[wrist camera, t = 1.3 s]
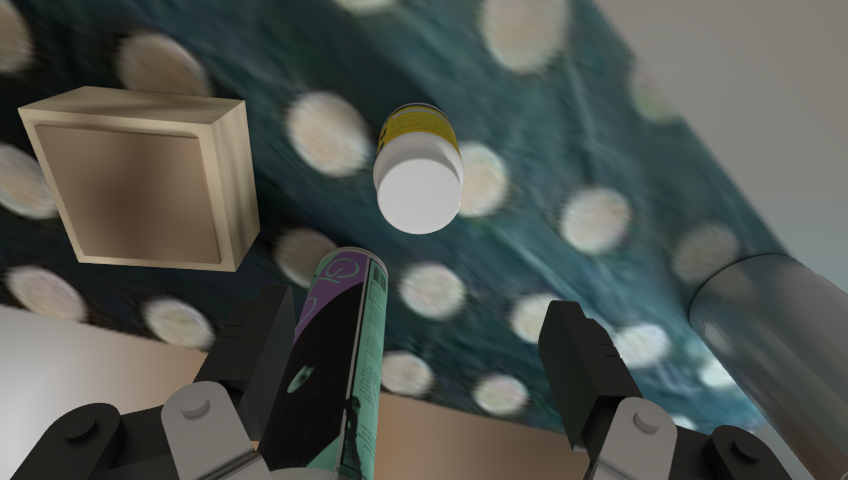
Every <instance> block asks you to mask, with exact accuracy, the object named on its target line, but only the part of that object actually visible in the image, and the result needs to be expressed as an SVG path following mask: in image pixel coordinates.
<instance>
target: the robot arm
mask: <svg viewBox="0 0 848 480" xmlns="http://www.w3.org/2000/svg"><path fill="white" fill-rule="evenodd" d="M689 319H690V324H691V326H692V328H693V330H694V331H695V332H696V334H697V335H698V336H699V337H700V339H701V340H702V341H703V342H704V343H705V345H706V346H707V347H708V348H709V350H710V351H711V352H712V353H713V355H714V356H715V357H716V358H717V360H718V361H719V362H720V363H721V365H722V366H723V367H724V369H725V370H726V371H727V372H728V373H729V375H730V376H731V377H732V378H733V380H734V381H735V382H736V383H737V385H738V386H739V387H740V388H741V389H742V391H743V392H744V393H745V394H746V396H747V397H748V398H749V399H750V401H751V402H752V403H753V404H754V405H755V407H756V408H757V409H758V410H759V412H760V413H761V414H762V415H763V417H764V418H765V419H766V420H767V421H768V423H769V424H770V425H771V426H772V428H773V429H774V430H775V431H776V433H777V434H778V435H779V436H780V437H781V439H782V440H783V441H784V442H785V444H786V445H787V446H788V447H789V449H790V450H791V451H792V452H793V453H794V455H795V456H796V457H797V458H798V460H799V461H800V462H801V463H802V465H803V466H804V467H805V468H806V469H807V471H808V472H809V473H810V474H811V476H812V477H813V478H814V479H815V480H848V294H847V293H845V292H844V291H842V290H841V289H840V288H838V287H837V286H835V285H834V284H833V283H831V282H830V281H829V280H827V279H826V278H824V277H823V276H822V275H820V274H816V273H814V272H813V271H811V270H810V269H809V268H807V267H806V266H805V265H803V264H802V263H800V262H799V261H797V260H796V259H794V258H791V257H788V256H785V255H773V254H772V255H762V256H756V257H752V258H748V259H745V260H743V261H740V262H738V263H735V264H733V265H731V266H729V267H727V268H726V269H724V270H722V271H720V272H719V273H718V274H716V275H715V276H714V277H713V278H711V279H710V280H709V281H708V282H707V283H706V284H705V285H704V286H703V287H702V288H701V289H700V291H699V292H698V293H697V295H696V296H695V298H694V300H693V302H692V305H691V307H690V313H689ZM295 328H296V324H295V313H294V302H293V292H292V287H291V286H290V285H272V284H265V285H264V286H263V288H262V290H261V292H260V294H259V296H258V298H257V300H256V301H250V300H245V301H244V302H242V303H241V304H240V305H239V306H238V307H236V308H235V309H234V310H233V311H232V312H231V313H230V315H229V317H228V319H227V321H226V322H225V324H224V328H222V330H221V332H220V333H219V335H218V339H216V341H215V343H214V344H213V346H212V348H211V350H210V352H209V354H208V356H207V358H206V359H205V361H204V363H203V365H202V367H201V368H200V371H199V372H198V374H197V376H196V378H195V379H194V381H193V383H192V384H189V385H187V386H185V387H182V388H181V389H179V390H178V391H176V392H175V393H174V394H172V396H171V397H170V398H169V399H168V400H167V401H166V403H165V404H163V405H161V406H158V407H155V408H151V409H146V410H142V411H137V412H133V413H128V414H124V415H120V413H119V411H118V410H117V408H115V407H114V406H113V405H110V404H106V403H93V404H88V405H84V406H81V407H78V408H76V409H73V410H72V411H70V412H68V413H66V414H64V415H63V416H61V417H60V418H59V419H57V420H56V421H55V422H54V423H53V424H52V425H51V426H50V427H49V428H48V429H47V431H45V433H44V434H43V435H42V437H41V438H40V440H39V441H38V442H37V444H36V445H35V446H34V448H33V449H32V450H31V452H30V453H29V454H28V456H27V457H26V459H25V460H24V461H23V463H22V464H21V465H20V467H19V468H18V469H17V471H16V472H15V473H14V475H13V476H12V478H11V479H10V480H273V478H272V476H271V474H270V471H269V469H268V467H267V465H266V463H265V461H264V459H263V457H262V455H261V454H260V452H259V451H255V449H254V448H253V446H252V444H251V441H262V438H263V435H264V432H265V429H266V426H267V423H268V420H269V416H270V413H271V410H272V407H273V404H274V401H275V398H276V395H277V392H278V389H279V386H280V383H281V380H282V377H283V373H284V370H285V367H286V364H287V361H288V358H289V355H290V352H291V349H292V346H293V342H294V338H295ZM538 348H539V355H540V358H541V361H542V364H543V367H544V370H545V372H546V375H547V378H548V381H549V384H550V387H551V390H552V393H553V396H554V399H555V402H556V405H557V408H558V410H559V413H560V416H561V419H562V422H563V425H564V428H565V431H566V434H567V437H568V440H569V443H570V445H571V448H572V451H583V452H584V451H585V452H588V455H589V458H590V462H589V464H588V467H587V469H586V471H585V474H584V477H583V479H582V480H792V479H791V477H790V476H789V474H788V473H787V472H786V470H785V469H784V467H783V466H782V464H781V463H780V462H779V460H778V459H777V457H776V456H775V455H774V453H773V452H772V451H771V449H770V448H769V447H768V446H767V445H766V444H765V443H764V442H762V441H761V440H760V439H759V438H757V437H756V436H754V435H753V434H751V433H749V432H747V431H746V430H743V429H741V428H738V427H735V426H730V425H723V426H719V427H717V428H716V429H715V430H714V431H713V433H712V434H711V435H710V436H709V435H706V434H703V433H700V432H696V431H693V430H690V429H687V428H684V427H680V426H678V425H675V423H674V422H673V420H672V419H671V417H670V416H669V415H668V414H667V413H666V412H665V411H664V410H663V409H662V408H661V407H659V406H658V405H656V404H654V403H653V402H651V401H648V400H646V399H644V398H643V396H642V394H641V392H640V390H639V389H638V387H637V385H636V383H635V381H634V380H633V378H632V376H631V374H630V372H629V371H628V369H627V367H626V365H625V363H624V362H623V360H622V358H620V354H619V353H618V351H617V349H616V347H614V344H613V342H612V340H611V338H610V336H609V335H608V333H607V331H606V330H605V329H604V328H603V327H602V326H601V325H600V324H598V323H597V322H596V321H595V320H594V319H590V318H586V317H585V315H584V313H583V311H582V309H581V307H580V305H579V303H578V302H575V301H558V300H552V301H551V302H550V304H549V306H548V309H547V313H546V316H545V319H544V322H543V325H542V329H541V332H540V335H539V341H538Z"/></svg>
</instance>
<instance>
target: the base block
mask: <svg viewBox="0 0 848 480" xmlns="http://www.w3.org/2000/svg"><path fill="white" fill-rule="evenodd" d="M17 109H18V111H19V114H20V116H21V119H22V121H23V124H24V126H25V129H26V131H27V134H28V136H29V139H30V141H31V144H32V146H33V149H34V151H35V154H36V156H37V159H38V161H39V164H40V166H41V169H42V171H43V174H44V176H45V178H46V181H47V183H48V186H49V188H50V191H51V193H52V196H53V198H54V201H55V203H56V206H57V208H58V211H59V213H60V216H61V218H62V221H63V223H64V226H65V228H66V231H67V233H68V236H69V238H70V241H71V243H72V246H73V248H74V251H75V253H76V256H77V258H78V261H79V262H86V263H102V264H119V265H135V266H151V267H168V268H184V269H200V270H217V271H233V272H235V271H236V270H237V268H238V266H239V265H240V263H241V262H242V260H243V258H244V257H245V255H246V253H247V252H248V250H249V248H250V247H251V245H252V243H253V242H254V240H255V238H256V237H257V235H258V233H259V232H260V223H259V215H258V206H257V198H256V190H255V182H254V174H253V165H252V157H251V149H250V141H249V133H248V125H247V116H246V108H245V100H235V99H224V98H213V97H202V96H191V95H180V94H168V93H157V92H146V91H135V90H124V89H113V88H102V87H91V86H84V87H81V88H78V89H75V90H72V91H69V92H66V93H63V94H60V95H56V96H53V97H50V98H47V99H44V100H41V101H38V102H35V103H32V104H29V105H26V106H23V107H19V108H17Z"/></svg>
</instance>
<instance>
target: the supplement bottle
mask: <svg viewBox="0 0 848 480" xmlns="http://www.w3.org/2000/svg"><path fill="white" fill-rule="evenodd" d="M373 178H374V184H375V188H376V191H377V199H378V205H379V208H380V210H381V212H382V214H383V216H384V217H385V219H386V220H387V221H388V222H389V223H390V224H391V225H393V226H394V227H396V228H397V229H399V230H402V231H404V232H407V233H412V234H426V233H431V232H434V231H437V230H439V229H441V228H443V227H444V226H446V225H447V224H448V223H449V222H450V221H451V220H452V219H453V218H454V217H455V215H456V214H457V212H458V210H459V207H460V204H461V199H462V188H463V183H464V168H463V163H462V159H461V155H460V152H459V148H458V145H457V141H456V137H455V133H454V130H453V127H452V124H451V122H450V121H449V119H448V118H447V116H446V115H445V114H444V113H443V112H442V111H441V110H439V109H438V108H436V107H434V106H432V105H429V104H425V103H410V104H406V105H403V106H401V107H399V108H397V109H396V110H395V111H393V112H392V113H391V114H390V115H389V116H388V118H387V119H386V120H385V122H384V124H383V127H382V129H381V133H380V138H379V143H378V148H377V154H376V158H375V163H374V170H373Z"/></svg>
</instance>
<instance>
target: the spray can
mask: <svg viewBox="0 0 848 480" xmlns="http://www.w3.org/2000/svg"><path fill="white" fill-rule="evenodd" d="M387 288H388V273H387V270H386V267H385V265H384V263H383V262H382V261H381V260H380V258H379V257H377V256H376V255H375V254H373V253H372V252H370V251H368V250H365V249H362V248H359V247H341V248H337V249H334V250H332V251H330V252H329V253H327V254H326V255H325V256H324V257H323V258H322V259H321V260H320V262H319V263H318V266H317V268H316V271H315V274H314V277H313V280H312V283H311V286H310V290H309V293H308V296H307V299H306V302H305V305H304V308H303V311H302V314H301V317H300V320H299V323H298V326H297V329H296V332H295V338H294V342H293V346H292V349H291V352H290V355H289V358H288V361H287V364H286V367H285V370H284V373H283V377H282V380H281V383H280V386H279V389H278V392H277V395H276V398H275V401H274V404H273V407H272V410H271V413H270V416H269V420H268V423H267V426H266V429H265V432H264V435H263V438H262V441H260V442H259V445H258V448H257V451H259V452H260V454H261V455H262V457H263V459H264V461H265V463H266V465H267V467H268V469H269V471H270V474H271V476H272V478H273V480H373V472H374V459H375V444H376V433H377V419H378V406H379V393H380V380H381V367H382V354H383V340H384V327H385V314H386V301H387Z"/></svg>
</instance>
